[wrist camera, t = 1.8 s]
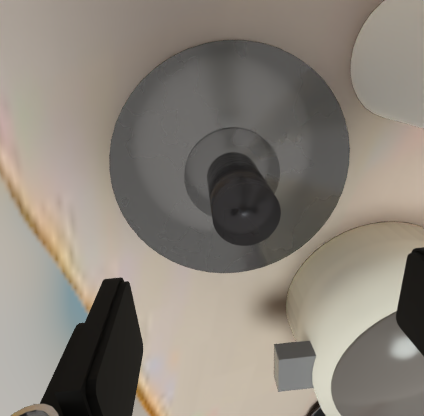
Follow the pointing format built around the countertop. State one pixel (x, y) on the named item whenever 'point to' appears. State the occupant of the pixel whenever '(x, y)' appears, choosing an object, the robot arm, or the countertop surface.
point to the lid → (229, 156)
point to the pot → (354, 326)
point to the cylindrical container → (392, 62)
